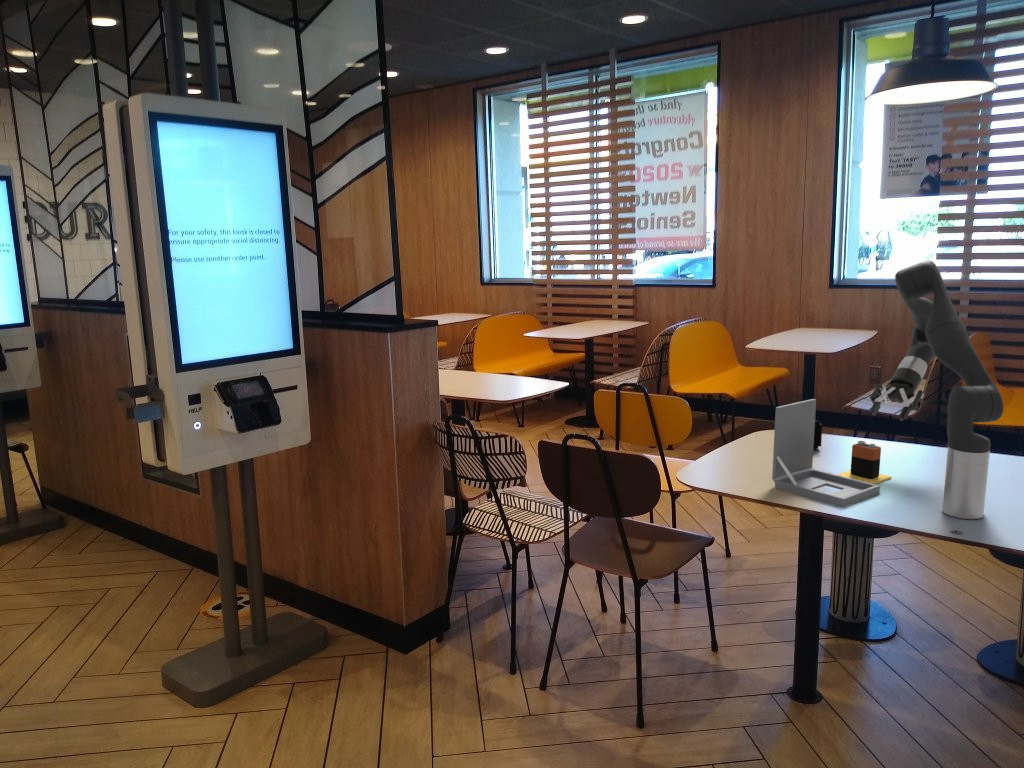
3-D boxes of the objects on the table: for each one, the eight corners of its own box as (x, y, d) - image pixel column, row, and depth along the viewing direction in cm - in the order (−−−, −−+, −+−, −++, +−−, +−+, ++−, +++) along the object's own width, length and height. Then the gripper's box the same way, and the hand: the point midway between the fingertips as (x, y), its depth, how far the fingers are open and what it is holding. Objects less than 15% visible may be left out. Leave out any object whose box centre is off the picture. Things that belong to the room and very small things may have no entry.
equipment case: (808, 475, 237) (813, 398, 233) (879, 493, 220) (885, 411, 216) (771, 486, 227) (775, 407, 222) (843, 507, 209) (848, 421, 205)
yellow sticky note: (856, 470, 242) (856, 468, 241) (891, 478, 233) (891, 476, 233) (835, 476, 235) (835, 474, 235) (871, 485, 226) (871, 483, 226)
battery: (857, 471, 238) (860, 439, 236) (879, 477, 232) (882, 443, 231) (849, 474, 235) (851, 441, 234) (871, 479, 230) (873, 446, 228)
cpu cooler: (819, 446, 269) (820, 416, 267) (823, 450, 264) (824, 420, 262) (787, 445, 271) (788, 416, 269) (790, 449, 265) (792, 420, 263)
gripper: (882, 363, 246) (860, 405, 241) (929, 369, 234) (906, 413, 230) (890, 378, 250) (868, 419, 245) (936, 385, 238) (914, 428, 234)
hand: (886, 416), depth 237 cm, fingers open, 8 cm apart
